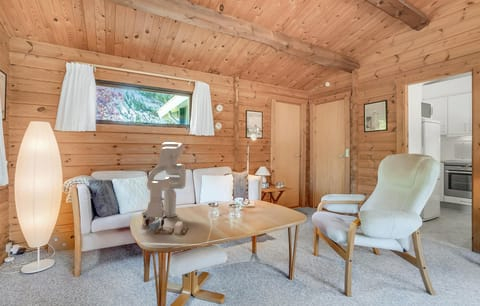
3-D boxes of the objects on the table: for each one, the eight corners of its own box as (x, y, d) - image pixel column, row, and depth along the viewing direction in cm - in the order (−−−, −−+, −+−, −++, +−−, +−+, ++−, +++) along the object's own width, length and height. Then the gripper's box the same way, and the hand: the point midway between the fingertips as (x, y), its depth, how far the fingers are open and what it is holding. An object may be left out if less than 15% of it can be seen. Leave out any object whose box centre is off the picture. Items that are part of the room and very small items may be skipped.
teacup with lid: (143, 226, 164) (144, 210, 164) (140, 223, 172) (141, 207, 172) (161, 224, 170) (161, 208, 170) (158, 221, 178) (158, 205, 178)
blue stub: (154, 227, 164) (155, 220, 164) (159, 227, 164) (160, 220, 164) (149, 231, 155) (149, 224, 155) (154, 232, 155) (155, 224, 155)
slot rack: (160, 228, 161) (160, 225, 161) (188, 229, 162) (188, 225, 162) (153, 235, 147) (153, 231, 147) (184, 236, 148) (184, 232, 148)
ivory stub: (177, 228, 159) (177, 221, 159) (182, 228, 159) (182, 221, 159) (174, 233, 150) (174, 225, 150) (179, 233, 150) (180, 225, 150)
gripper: (170, 199, 163) (169, 224, 163) (144, 198, 163) (143, 223, 162) (167, 201, 156) (166, 227, 155) (140, 200, 155) (139, 226, 155)
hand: (154, 225), depth 159 cm, fingers open, 9 cm apart
